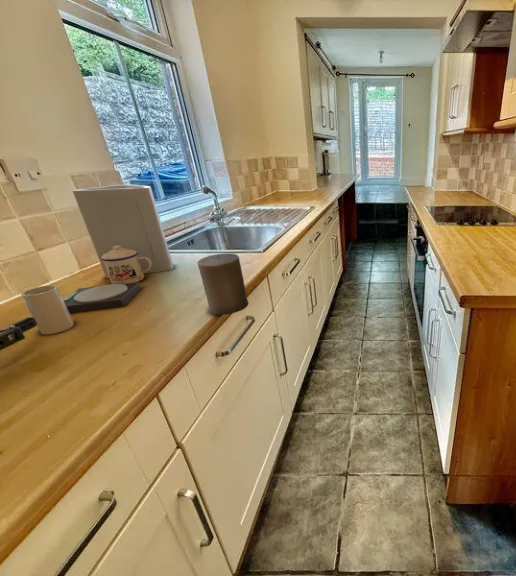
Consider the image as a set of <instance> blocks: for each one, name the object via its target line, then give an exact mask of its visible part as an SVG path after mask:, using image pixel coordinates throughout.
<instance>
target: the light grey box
mask: <svg viewBox="0 0 516 576" xmlns="http://www.w3.org/2000/svg"><path fill="white" fill-rule="evenodd" d="M72 193H73V196H74V198H75V201H76V204H77V207H78V209H79V211H80V214H81V216H82V219H83V222H84V224H85V227H86V230H87V232H88V235H89V237H90V240H91V242H92V245H93V247H94V250H95V252H96V256H97V258H98V261H99V263H100V266H101V269H102V271H103V274H104V277H105V278H106V279H110V277H109V275H108V272H107V270H106V267H105V264H104V262H103V260H102V259H101V257H102V255H104V254H106V253H108V252H109V251H111V250H113V246H117V245H119V246H121V248H125V249H128V250H135V251H136V252H137V253H138V254H137V256H138V257H147V258H149V259H150V260H151V268H150V269H149V270H148V271H146V272H143V274H151V273H158V272H164V271H165V272H166V271H172V270H173V269H174V262H173V260H172V255H171V253H170V249H169V245H168V242H167V239H166V235H165V231H164V228H163V224H162V221H161V217H160V214H159V210H158V207H157V204H156V200H155V196H154V194H153V190H152V186H151V185H140V184H130V183H129V184H128V183H127V184H113V185H105V186H95V187H85V188H77V189H73V190H72ZM139 262H140V265H141V268H142V270H143V269H146V268H148V266H149V263H148V261H147V260H144V259H140V260H139Z"/></svg>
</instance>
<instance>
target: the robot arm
mask: <svg viewBox="0 0 516 576" xmlns="http://www.w3.org/2000/svg"><path fill="white" fill-rule="evenodd" d="M36 327H37V323H36V321H35V319H34V318H33V317H32V316H27V317H26V318H23V319H21V320H18V321H16V322H15V323H13V324H10V325H7V326H3V327H0V351H3V350H5V349H7V348H8V347H10V346H12V345H15V344H17V343H18V342H21V341H23V340H25V339H26V336H25V334H24V333H25V332H28V331H30V330H31V329H33V328H36Z"/></svg>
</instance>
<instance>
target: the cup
mask: <svg viewBox="0 0 516 576" xmlns="http://www.w3.org/2000/svg"><path fill="white" fill-rule="evenodd" d="M20 296H21V298H22V301H24V304H25V305H26V308H27V309H28V311H29V313H30V315H31V317H33V318H34V319H35V321H36V323H37V326H36V328H38V331H39V332H40V333H41V334H42V335H54V334H57V333H61V332H64V331H67V330H70V328H72V327H73V326H74V325H75V323H74V320H73V318H72V315H71V313H69V311H68V309H67V307H66V305H65V302H64V300H63V299H64V298H63V295H62V294H61V291H60V289H59V287H58V286H57V285H55V284H47V285H40V286H36V287H33V288H29V289H26V290H24V291H22V292H21V293H20Z"/></svg>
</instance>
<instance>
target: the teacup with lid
mask: <svg viewBox="0 0 516 576" xmlns="http://www.w3.org/2000/svg"><path fill="white" fill-rule="evenodd" d="M137 254H138V253H137V252H136V251H135V250H128V249H125V248H121V246H119V245H117V246H113V250H111V251H109V252H108V253H106V254H104V255H102V257H101V259H102V260H103V262H104V264H105V267H106V270H107V272H108V275H109V277H110V278H109V280H110V283H111V284H126V283H136V282H139V283H140V282H142V281H143V279H145V275H144V274H145V273H143V272H146V271H148V270H149V269H150V268H151V260H150V259H149V258H147V257H138V256H137ZM140 259H144V260H147V261H148V263H149V266H148V268H146V269H143V270H142V268H141V265H140V262H139V260H140Z"/></svg>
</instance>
